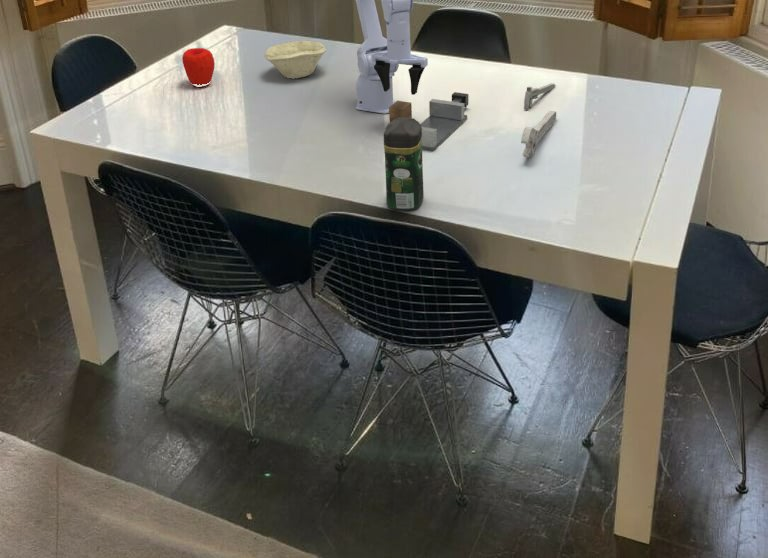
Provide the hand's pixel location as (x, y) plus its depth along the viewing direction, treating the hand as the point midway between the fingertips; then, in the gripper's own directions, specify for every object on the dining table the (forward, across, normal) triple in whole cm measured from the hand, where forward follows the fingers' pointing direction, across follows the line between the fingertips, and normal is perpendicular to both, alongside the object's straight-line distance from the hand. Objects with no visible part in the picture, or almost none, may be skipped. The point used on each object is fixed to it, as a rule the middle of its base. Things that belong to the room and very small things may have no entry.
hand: (400, 91), depth 235 cm
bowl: (+9, -46, +26) cm, 53 cm away
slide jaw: (+8, +9, +12) cm, 18 cm away
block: (+10, 0, 0) cm, 10 cm away
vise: (+10, +9, 0) cm, 13 cm away
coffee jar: (+10, +18, -38) cm, 44 cm away
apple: (+9, -68, +8) cm, 69 cm away
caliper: (+10, +27, +32) cm, 43 cm away
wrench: (+10, +36, +4) cm, 37 cm away
